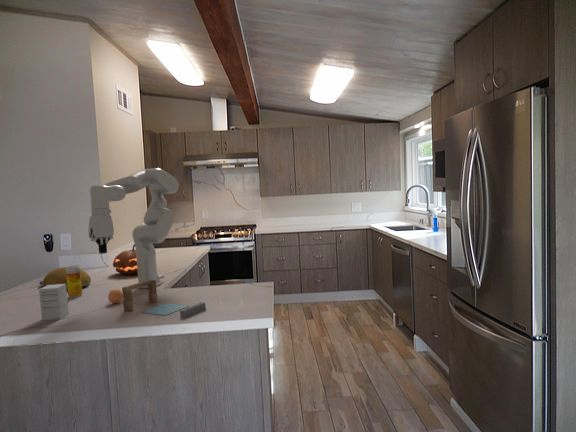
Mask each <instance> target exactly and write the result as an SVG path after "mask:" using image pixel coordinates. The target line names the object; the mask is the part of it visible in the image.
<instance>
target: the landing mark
mask: <svg viewBox="0 0 576 432" xmlns="http://www.w3.org/2000/svg"><path fill="white" fill-rule="evenodd" d="M189 307H190V306H189V305H184V304H183V305H182V304H174V303H162V304H160V305H157V306H155V307H151V308H148V309H147V310H146V309H145V310H143V311H141V313H142V314H150V315H156V316H163V317H165V316H168V315H171V314H173V313H176V312H179V311H181V310H184V309H186V308H189Z"/></svg>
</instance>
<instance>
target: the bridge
mask: <svg viewBox="0 0 576 432" xmlns="http://www.w3.org/2000/svg"><path fill="white" fill-rule="evenodd" d="M147 285H148V288H147V294H148V296H147V297H148V303H150V304H155V303H158V292H157V286H156V280H148V281H144V282H141V283H138V282H137V283H133V284H130V285H127V286H123V287H121V288H122V289H121V290H122V291H121V292H122V294H123V298H122V301H123V311H124V312H128V313H129V312H132V311H134V303H133V293H132V291H133V290H137V289H141V288H140V287H143V286H147Z"/></svg>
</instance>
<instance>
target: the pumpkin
mask: <svg viewBox="0 0 576 432" xmlns="http://www.w3.org/2000/svg"><path fill="white" fill-rule="evenodd" d="M112 267H113V268H115V271H116V272H117V273H119V274H121V275H131V276H132V275H138V270H137V258H136V248H135V243H133V244H132V249H129V250H124V251H121V252H120V253H119V254H117V255H116V256H115V257H114V260H113V262H112Z"/></svg>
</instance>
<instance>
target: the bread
mask: <svg viewBox="0 0 576 432" xmlns="http://www.w3.org/2000/svg"><path fill="white" fill-rule="evenodd" d="M66 267H67V266H65V267H64V266H63V267H58V268H56V269H54V270H51V271H50V272H48V274H46V276H45V277H43V280H42V281H43V284H44V285H45V286H47V285H55V284H66V290H68V287H67V276H66ZM80 272H81V283H82V288H84V287H87V286H89V285H90V283H91V281H92V278H91V276H90V275H89V274H88V272H86V271H85V270H83V269H81V268H80Z"/></svg>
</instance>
